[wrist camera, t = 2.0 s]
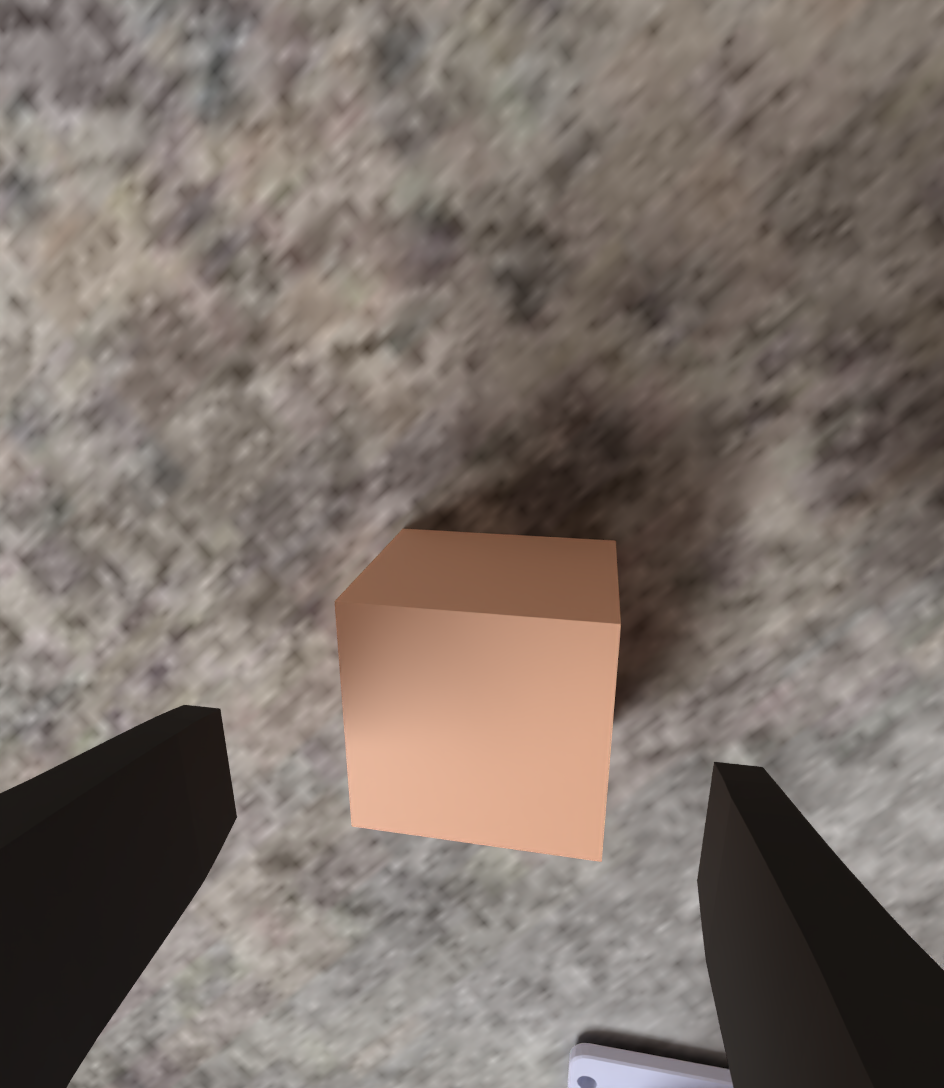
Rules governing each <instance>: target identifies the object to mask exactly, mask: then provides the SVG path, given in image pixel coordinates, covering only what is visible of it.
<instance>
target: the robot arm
mask: <svg viewBox="0 0 944 1088" xmlns="http://www.w3.org/2000/svg"><path fill="white" fill-rule="evenodd" d="M236 818H237V815H236V808H235V801H234V795H233V788H232V782H231V775H230V769H229V762H228V756H227V749H226V743H225V736H224V730H223V723H222V717H221V710H220V709H218V708H209V707H199V706H190V705H183V706H180V707H178V708H175V709H173V710H170V711H168V712H166V713H163V714H161V715H159V716H157V717H155V718H153V719H150V720H148V721H146V722H144V723H142V724H140V725H138V726H136V727H134V728H132V729H130V730H128V731H126V732H124V733H122V734H120V735H118V736H116V737H114V738H112V739H110V740H108V741H106V742H104V743H102V744H100V745H98V746H96V747H94V748H92V749H90V750H88V751H86V752H84V753H82V754H80V755H78V756H76V757H74V758H72V759H70V760H68V761H66V762H64V763H62V764H60V765H58V766H56V767H54V768H52V769H50V770H48V771H46V772H44V773H42V774H40V775H38V776H36V777H34V778H32V779H30V780H28V781H26V782H24V783H22V784H19V785H17V786H15V787H13V788H11V789H9V790H7V791H5V792H2V793H0V1088H66V1087H67V1086H68V1084H69V1082H70V1080H71V1079H72V1077H73V1075H74V1074H75V1072H76V1071H77V1069H78V1068H79V1066H80V1064H81V1063H82V1061H83V1060H84V1058H85V1057H86V1055H87V1053H88V1052H89V1050H90V1049H91V1047H92V1046H93V1044H94V1043H95V1041H96V1039H97V1038H98V1036H99V1035H100V1033H101V1032H102V1030H103V1029H104V1028H105V1026H106V1025H107V1023H108V1022H109V1020H110V1019H111V1017H112V1016H113V1014H114V1013H115V1012H116V1010H117V1009H118V1007H119V1006H120V1004H121V1003H122V1001H123V1000H124V998H125V997H126V996H127V994H128V993H129V991H130V990H131V988H132V987H133V985H134V984H135V982H136V981H137V979H138V978H139V977H140V975H141V974H142V972H143V971H144V969H145V968H146V966H147V965H148V963H149V962H150V961H151V959H152V958H153V956H154V955H155V953H156V952H157V950H158V949H159V947H160V946H161V945H162V943H163V942H164V940H165V939H166V937H167V936H168V934H169V933H170V931H171V930H172V928H173V927H174V925H175V924H176V923H177V921H178V920H179V918H180V917H181V915H182V914H183V912H184V911H185V909H186V908H187V906H188V905H189V903H190V902H191V900H192V899H193V897H194V896H195V894H196V893H197V891H198V890H199V888H200V887H201V885H202V884H203V882H204V880H205V878H206V877H207V875H208V873H209V871H210V869H211V867H212V865H213V864H214V862H215V860H216V858H217V856H218V854H219V852H220V850H221V848H222V846H223V844H224V842H225V840H226V838H227V836H228V834H229V832H230V830H231V828H232V826H233V824H234V822H235V820H236ZM697 883H698V893H699V903H700V912H701V922H702V931H703V940H704V948H705V957H706V963H707V968H708V973H709V978H710V982H711V987H712V992H713V996H714V1001H715V1006H716V1010H717V1015H718V1020H719V1024H720V1029H721V1034H722V1038H723V1043H724V1047H725V1052H726V1056H727V1061H728V1065H729V1069H726V1068H720V1067H715V1066H709V1065H704V1064H699V1063H693V1062H688V1061H683V1060H677V1059H672V1058H666V1057H661V1056H656V1055H650V1054H645V1053H639V1052H634V1051H629V1050H623V1049H618V1048H613V1047H607V1046H602V1045H596V1044H591V1043H580V1044H577V1045H575V1046H574V1047H573V1048H571V1051H570V1056H569V1071H568V1086H567V1088H944V970H943V969H942V968H941V967H940V966H939V965H938V964H937V963H936V962H935V961H934V960H933V959H932V958H931V957H930V956H929V955H928V954H927V953H926V952H925V951H924V950H923V949H922V948H921V947H920V946H919V945H918V944H917V943H916V942H915V941H914V940H913V939H912V938H911V937H910V936H909V935H908V934H907V933H906V932H905V930H904V929H903V928H902V927H901V926H900V925H899V924H898V923H897V922H896V921H895V920H894V919H893V918H892V917H891V916H890V914H889V913H888V912H887V911H886V910H885V909H884V908H883V907H882V906H881V904H880V903H879V902H878V901H877V900H876V899H875V898H874V897H873V896H872V894H871V893H870V892H869V891H868V890H867V889H866V888H865V887H864V885H863V884H862V883H861V882H860V881H859V880H858V879H857V878H856V877H855V875H854V874H853V873H852V872H851V871H850V870H849V869H848V868H847V866H846V865H845V864H844V863H843V862H842V861H841V860H840V858H839V857H838V856H837V855H836V854H835V853H834V851H833V850H832V849H831V848H830V847H829V846H828V844H827V843H826V842H825V841H824V840H823V839H822V837H821V836H820V835H819V834H818V833H817V831H816V830H815V829H814V828H813V827H812V825H811V824H810V823H809V822H808V821H807V820H806V818H805V817H804V816H803V815H802V813H801V812H800V811H799V810H798V809H797V807H796V806H795V805H794V804H793V803H792V801H791V800H790V799H789V798H788V797H787V795H786V794H785V793H784V792H783V791H782V789H781V788H780V787H779V786H778V785H777V783H776V782H775V781H774V780H773V779H772V777H771V776H770V775H769V774H768V773H767V772H766V770H765V769H764V768H763V767H757V766H748V765H739V764H729V763H720V762H714V766H713V773H712V781H711V788H710V795H709V802H708V809H707V816H706V823H705V830H704V837H703V844H702V851H701V858H700V865H699V872H698V879H697Z"/></svg>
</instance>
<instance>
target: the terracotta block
mask: <svg viewBox="0 0 944 1088" xmlns="http://www.w3.org/2000/svg"><path fill="white" fill-rule="evenodd" d="M335 613H336V626H337V639H338V653H339V666H340V679H341V692H342V705H343V718H344V731H345V744H346V757H347V771H348V784H349V797H350V810H351V823H352V826H353V827H360V828H367V829H374V830H381V831H388V832H396V833H403V834H410V835H417V836H424V837H431V838H438V839H445V840H452V841H459V842H466V843H473V844H480V845H487V846H494V847H501V848H508V849H515V850H522V851H529V852H536V853H543V854H550V855H557V856H565V857H572V858H579V859H586V860H593V861H600V862H602V850H603V837H604V825H605V813H606V800H607V788H608V776H609V764H610V751H611V739H612V727H613V715H614V702H615V690H616V678H617V665H618V653H619V641H620V629H621V618H620V602H619V585H618V569H617V553H616V541H613V540H595V539H577V538H560V537H542V536H525V535H507V534H489V533H472V532H454V531H436V530H419V529H402V530H401V531H400V532H399V533H398V534H397V536H396V537H395V538H394V539H393V540H392V541H391V542H390V543H389V544H388V545H387V546H386V547H385V548H384V549H383V550H382V552H381V553H380V554H379V555H378V556H377V557H376V558H375V559H374V560H373V561H372V562H371V563H370V564H369V565H368V566H367V567H366V569H365V570H364V571H363V572H362V573H361V574H360V575H359V576H358V577H357V578H356V579H355V580H354V581H353V582H352V583H351V585H350V586H349V587H348V588H347V589H346V590H345V591H344V592H343V593H342V594H341V595H340V596H339V597H338V598H337V599H336V601H335Z"/></svg>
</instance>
